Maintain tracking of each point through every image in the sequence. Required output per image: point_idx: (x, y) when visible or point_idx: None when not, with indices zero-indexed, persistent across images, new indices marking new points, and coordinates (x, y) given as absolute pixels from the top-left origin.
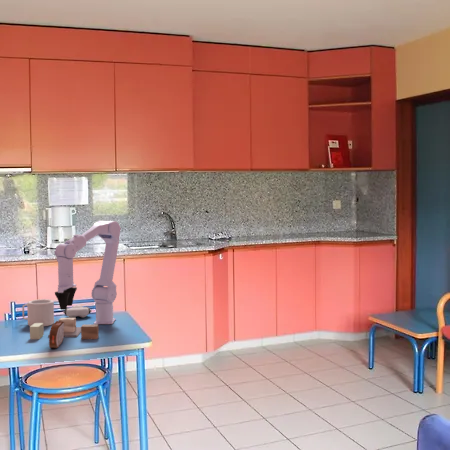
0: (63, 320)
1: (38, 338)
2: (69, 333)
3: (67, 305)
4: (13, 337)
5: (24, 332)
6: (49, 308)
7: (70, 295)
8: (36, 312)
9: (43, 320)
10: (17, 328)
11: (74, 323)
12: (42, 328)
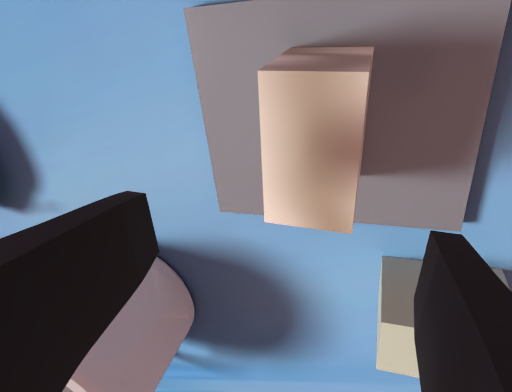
0: (356, 185)
1: (501, 277)
2: (421, 74)
3: (154, 243)
4: (415, 381)
5: (304, 342)
6: None
7: (11, 323)
8: (153, 373)
9: (164, 302)
10: (229, 365)
11: (331, 61)
12: (411, 298)
